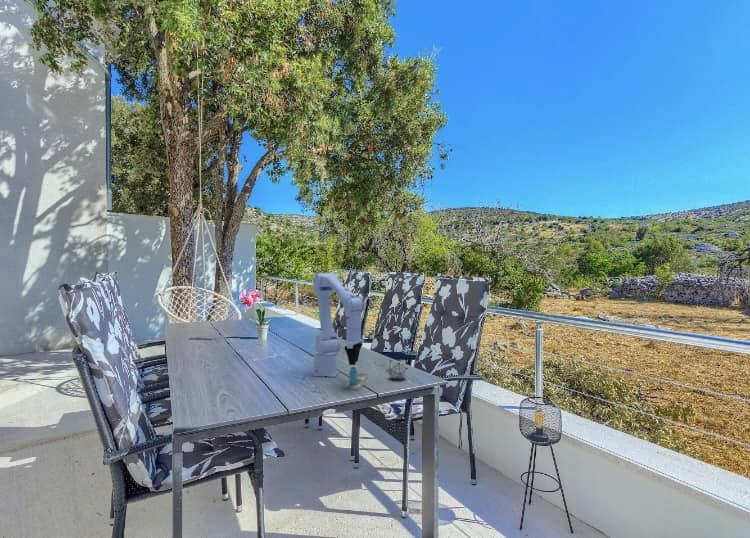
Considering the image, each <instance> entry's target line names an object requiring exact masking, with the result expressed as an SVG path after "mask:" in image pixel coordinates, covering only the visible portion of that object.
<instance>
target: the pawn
mask: <svg viewBox="0 0 750 538" xmlns="http://www.w3.org/2000/svg"><path fill="white" fill-rule="evenodd" d="M357 373H358V370H357V367H355V366H352V367H351V368H350V371H349V380H350V385H357Z"/></svg>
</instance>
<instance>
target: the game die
mask: <svg viewBox="0 0 750 538" xmlns="http://www.w3.org/2000/svg"><path fill="white" fill-rule="evenodd" d="M389 362H390V363H389V366H388V368H387V369H386V370H385V373H386V372H387V374H389V376H390V377H391V378H392V379H391V380H392V381H394V379H402V380H405V378H404V376H405V373H406V372H407V370H408V369H409V368H408V367H406V366H405V364H404V363H403V362H402V358H401V359H400V360H393V361H392V360H391V359H389Z"/></svg>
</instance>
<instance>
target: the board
mask: <svg viewBox="0 0 750 538" xmlns="http://www.w3.org/2000/svg"><path fill="white" fill-rule="evenodd" d="M367 376H369V375H368V373H360V372H359V373H358V372H357V385H350V379H348V380H347V382H346V384H345V385H344V389H346V390H361V389H362V387H363V385H364V384H365V382H366V380H367V378H368V377H367ZM365 379H366V380H365ZM364 381H365V382H364ZM363 383H364V384H363Z"/></svg>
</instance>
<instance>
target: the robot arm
mask: <svg viewBox="0 0 750 538" xmlns="http://www.w3.org/2000/svg"><path fill="white" fill-rule="evenodd" d="M312 283H313V290H314V293H315V294H316V295H317V296H316V297H317V305H318V314H319V321H320V322H319V324H320V332H319V334H317V336H316V337H315V351H316V353H315V355H314V356H313V357H314V358H313V377H325V376H327V377H329V378H335V377H337V375H338V374H339V373H340V371H339V370H337V355H338V354H339V352H340V351H341V347H342V345H341V340H340V338H339V334H338V333H337V332H335V330H334V329H333V321H332V313H331V304H330V303H331V302H330V294H332V293H333V292H336V297H337V299H338V300H339V301H340V302H341V303H342V305H343V311H344V315H345V317H346V319H345V320H346V322H345V324H346V327H345V328H346V333H345V334H346V335H345V336H346V337H345V338H346V339H345V343H346V345H344V351H345V352H346V356H347V360H348V365H349V366H356V363H358V361H359V357H360V351H361V349H362V346H363V343H364V342H365V339H362V312H363V311H364V309H365V301H364V299H363V298H362V296H356V295H355V294H354V293H353V292H352V291H351V290H350V288H349V287H347V286H343V284H342V283H341V282H340V276H339V275H338V274H337V273H336V272H333V273H331V272H328V273H325V272H324V273H323V272H322V273H320V272H317V273H315V274H314V276H313V281H312Z"/></svg>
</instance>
